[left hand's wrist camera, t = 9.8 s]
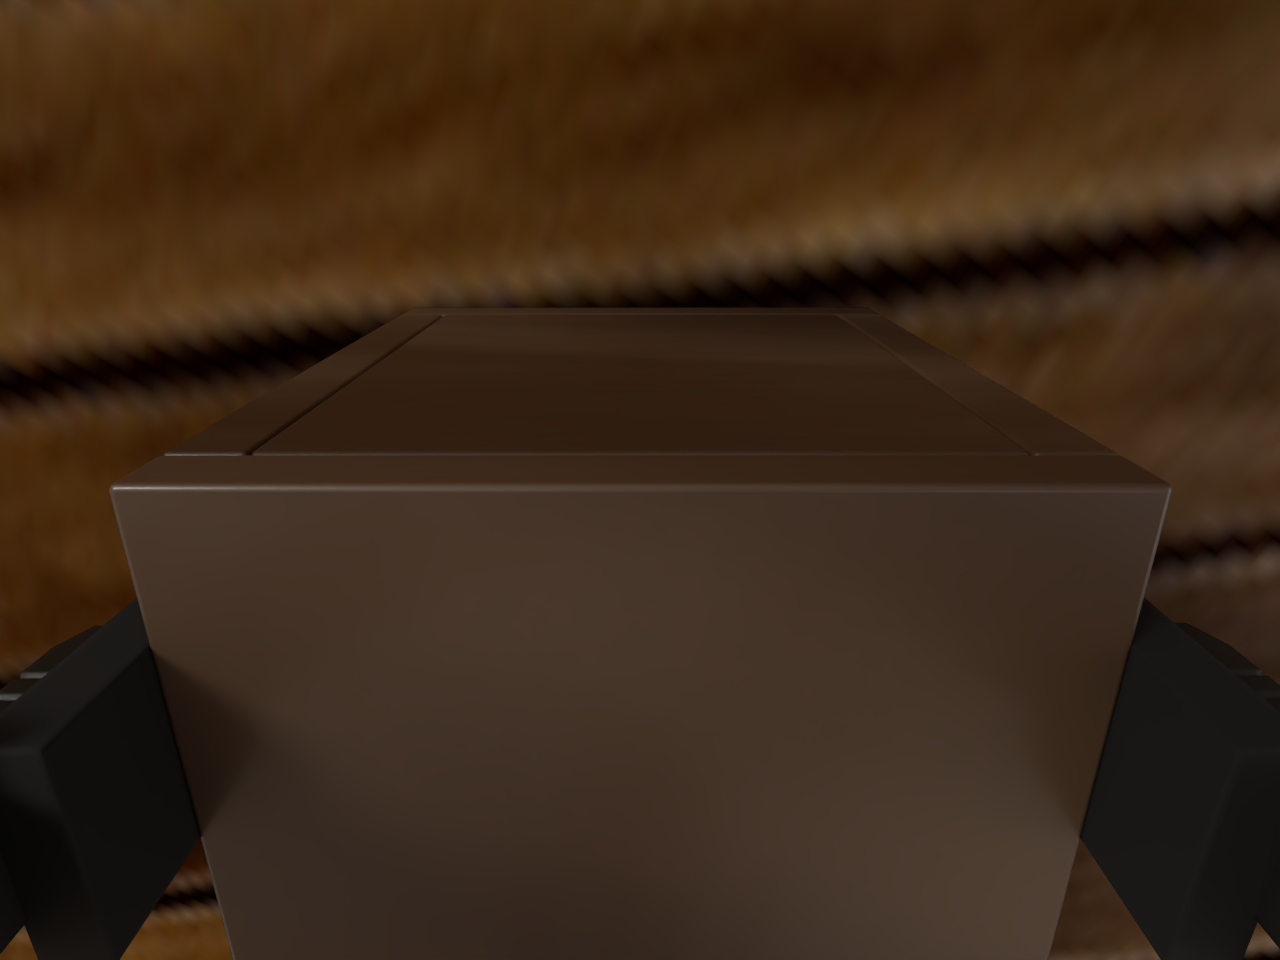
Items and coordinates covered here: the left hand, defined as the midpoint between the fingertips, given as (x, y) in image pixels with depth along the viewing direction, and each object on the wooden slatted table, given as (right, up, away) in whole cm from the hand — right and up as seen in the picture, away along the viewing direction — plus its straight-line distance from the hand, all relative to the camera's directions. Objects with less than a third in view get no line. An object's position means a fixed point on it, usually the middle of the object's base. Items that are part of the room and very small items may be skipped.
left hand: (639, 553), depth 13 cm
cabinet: (0, -2, +8) cm, 8 cm away
